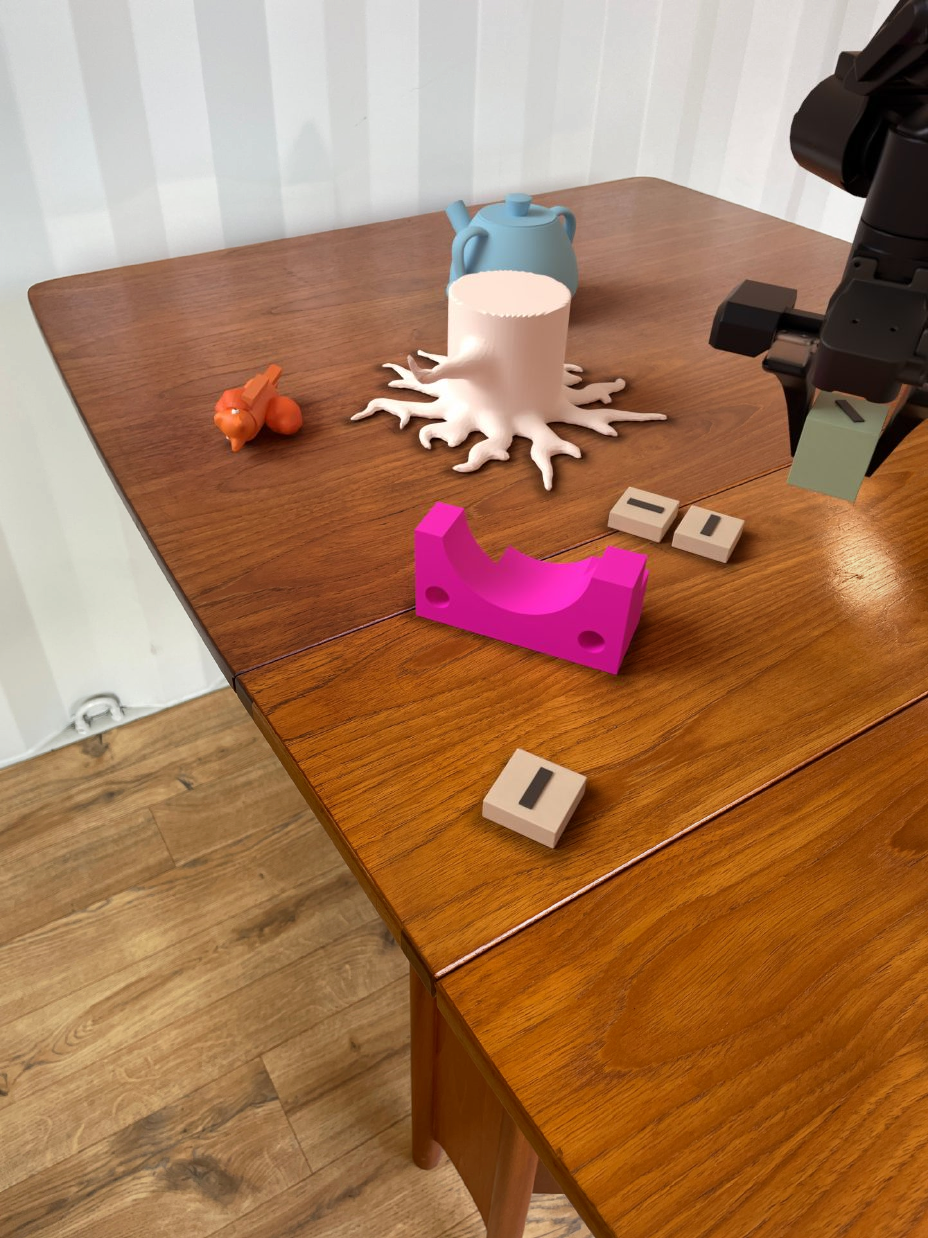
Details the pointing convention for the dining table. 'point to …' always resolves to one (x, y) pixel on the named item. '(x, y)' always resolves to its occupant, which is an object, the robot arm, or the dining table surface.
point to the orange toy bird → (256, 409)
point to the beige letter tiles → (693, 534)
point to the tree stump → (505, 372)
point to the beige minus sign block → (534, 797)
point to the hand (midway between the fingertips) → (830, 464)
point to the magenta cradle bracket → (529, 593)
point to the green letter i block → (837, 445)
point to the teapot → (514, 240)
